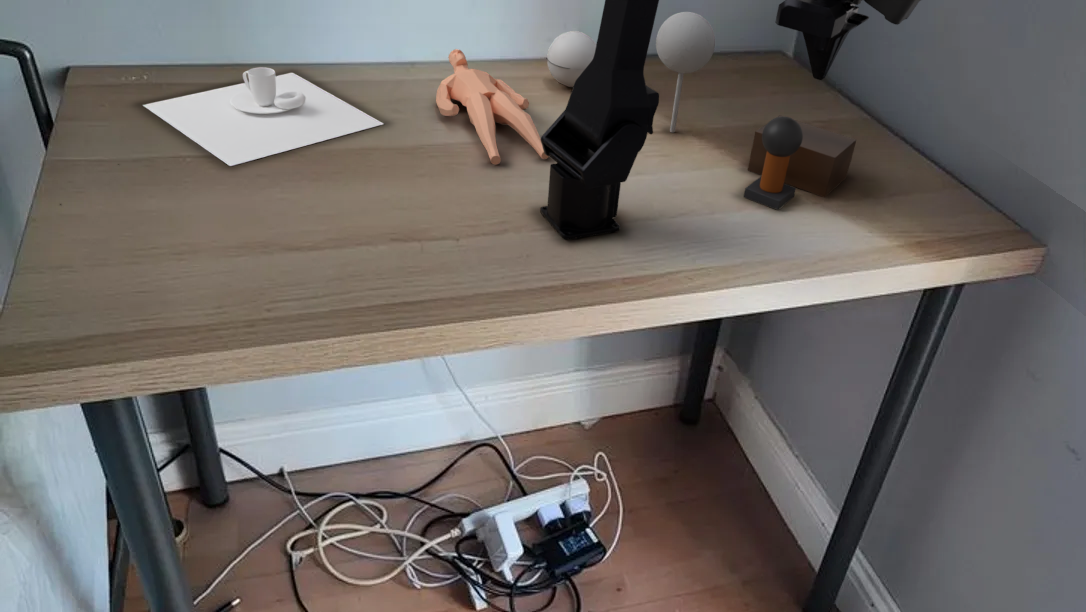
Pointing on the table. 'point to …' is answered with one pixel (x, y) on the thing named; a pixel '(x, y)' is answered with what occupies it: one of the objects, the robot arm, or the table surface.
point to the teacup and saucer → (261, 116)
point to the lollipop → (684, 48)
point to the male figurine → (486, 105)
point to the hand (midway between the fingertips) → (818, 78)
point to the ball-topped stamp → (776, 163)
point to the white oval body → (570, 56)
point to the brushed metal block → (811, 159)
